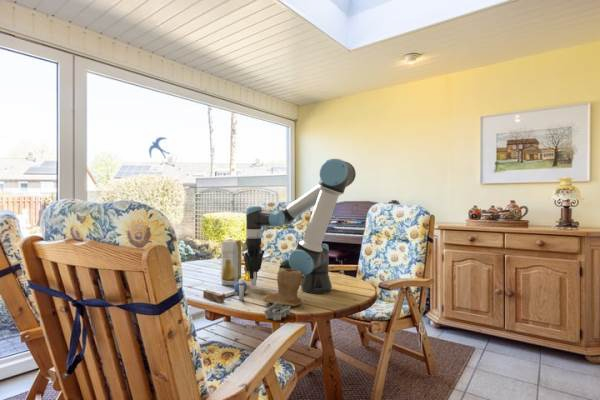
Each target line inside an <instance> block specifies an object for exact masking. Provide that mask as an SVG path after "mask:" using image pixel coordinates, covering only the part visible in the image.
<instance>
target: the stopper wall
mask: <svg viewBox="0 0 600 400" xmlns="http://www.w3.org/2000/svg"><path fill="white" fill-rule="evenodd" d="M202 291H203V295H202V296H203V297H202V298H204V299H207V300H210V301H213V302H216V303H218V304H221V303H224V300H225V299H224V295H222V293H219V292H216V291H212V290H209V289H206V290H202Z"/></svg>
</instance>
